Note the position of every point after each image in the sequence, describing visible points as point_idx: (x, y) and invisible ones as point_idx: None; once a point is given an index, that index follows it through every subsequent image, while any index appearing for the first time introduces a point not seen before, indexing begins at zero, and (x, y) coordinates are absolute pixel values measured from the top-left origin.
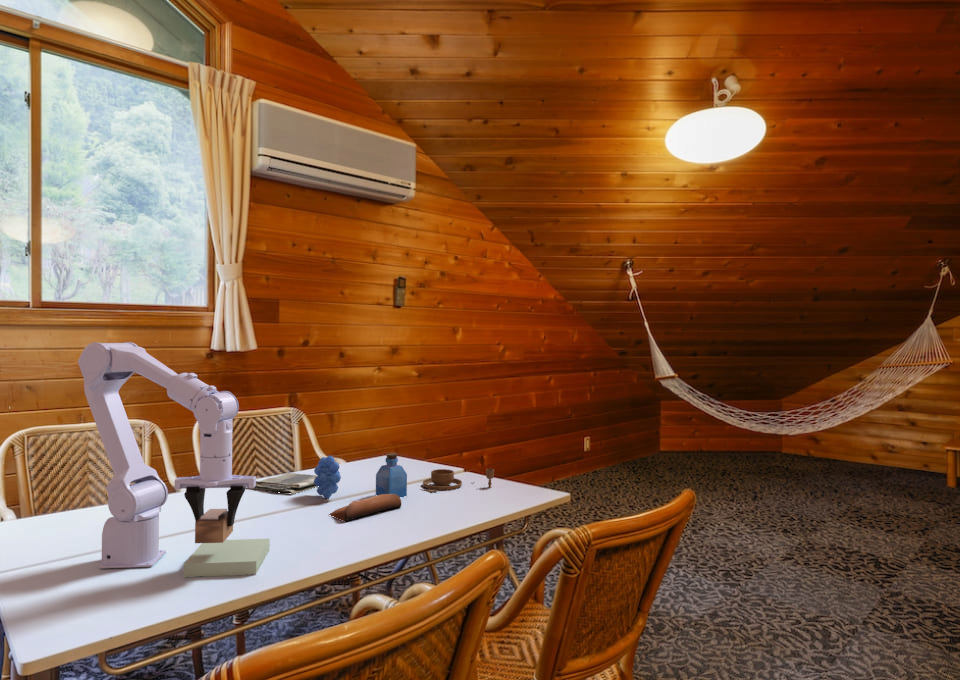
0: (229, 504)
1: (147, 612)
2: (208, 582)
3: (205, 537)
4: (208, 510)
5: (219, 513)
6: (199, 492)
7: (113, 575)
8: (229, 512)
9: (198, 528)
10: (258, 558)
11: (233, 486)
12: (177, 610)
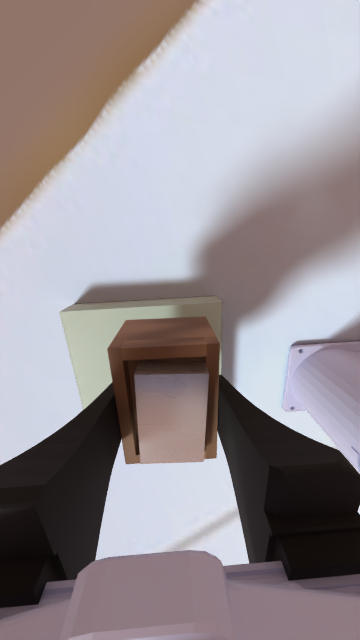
0: (78, 435)
1: (230, 94)
2: (156, 266)
3: (176, 323)
4: (203, 444)
5: (145, 411)
6: (264, 512)
7: (348, 311)
8: (97, 409)
9: (203, 334)
10: (66, 334)
11: (5, 595)
12: (167, 101)
